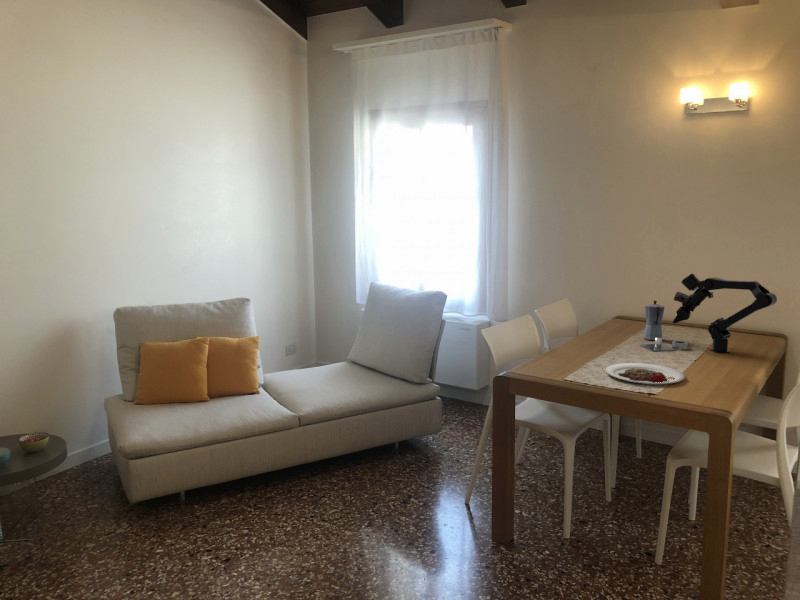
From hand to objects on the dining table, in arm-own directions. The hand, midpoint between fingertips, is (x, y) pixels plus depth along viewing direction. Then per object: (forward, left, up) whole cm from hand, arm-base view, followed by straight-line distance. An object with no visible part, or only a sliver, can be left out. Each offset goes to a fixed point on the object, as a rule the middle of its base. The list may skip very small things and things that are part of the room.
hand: (675, 319), depth 316 cm
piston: (-8, +13, -12) cm, 19 cm away
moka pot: (+10, +5, -12) cm, 17 cm away
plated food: (-53, +45, -13) cm, 70 cm away
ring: (-10, +3, -12) cm, 16 cm away
